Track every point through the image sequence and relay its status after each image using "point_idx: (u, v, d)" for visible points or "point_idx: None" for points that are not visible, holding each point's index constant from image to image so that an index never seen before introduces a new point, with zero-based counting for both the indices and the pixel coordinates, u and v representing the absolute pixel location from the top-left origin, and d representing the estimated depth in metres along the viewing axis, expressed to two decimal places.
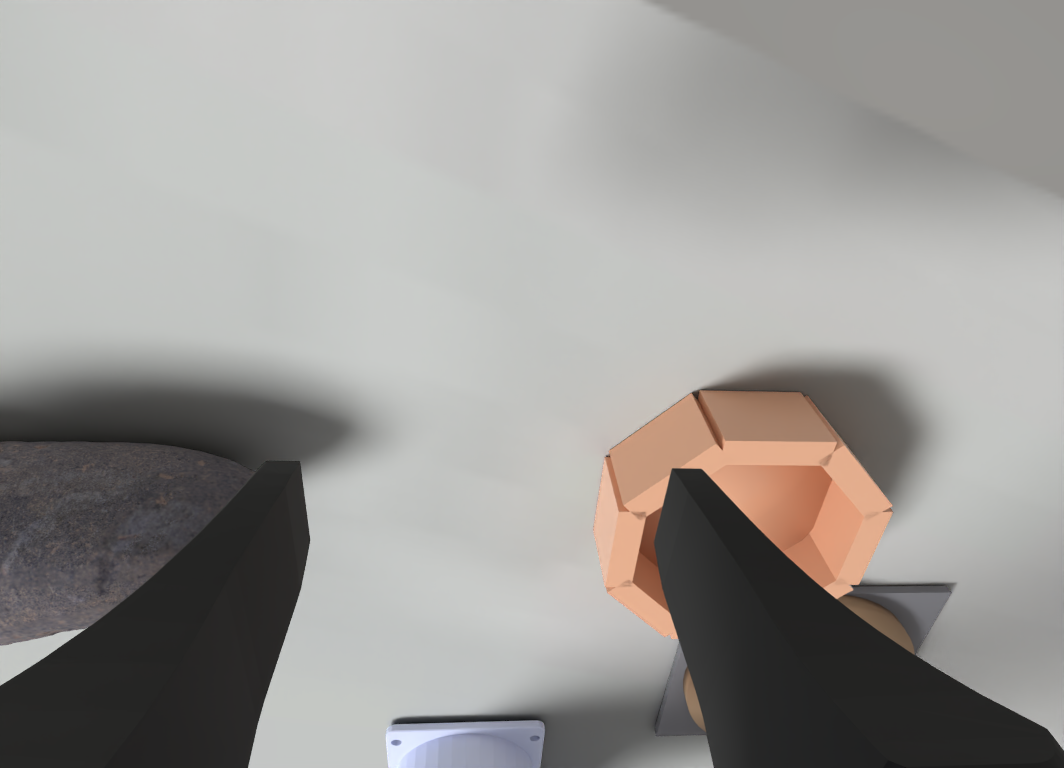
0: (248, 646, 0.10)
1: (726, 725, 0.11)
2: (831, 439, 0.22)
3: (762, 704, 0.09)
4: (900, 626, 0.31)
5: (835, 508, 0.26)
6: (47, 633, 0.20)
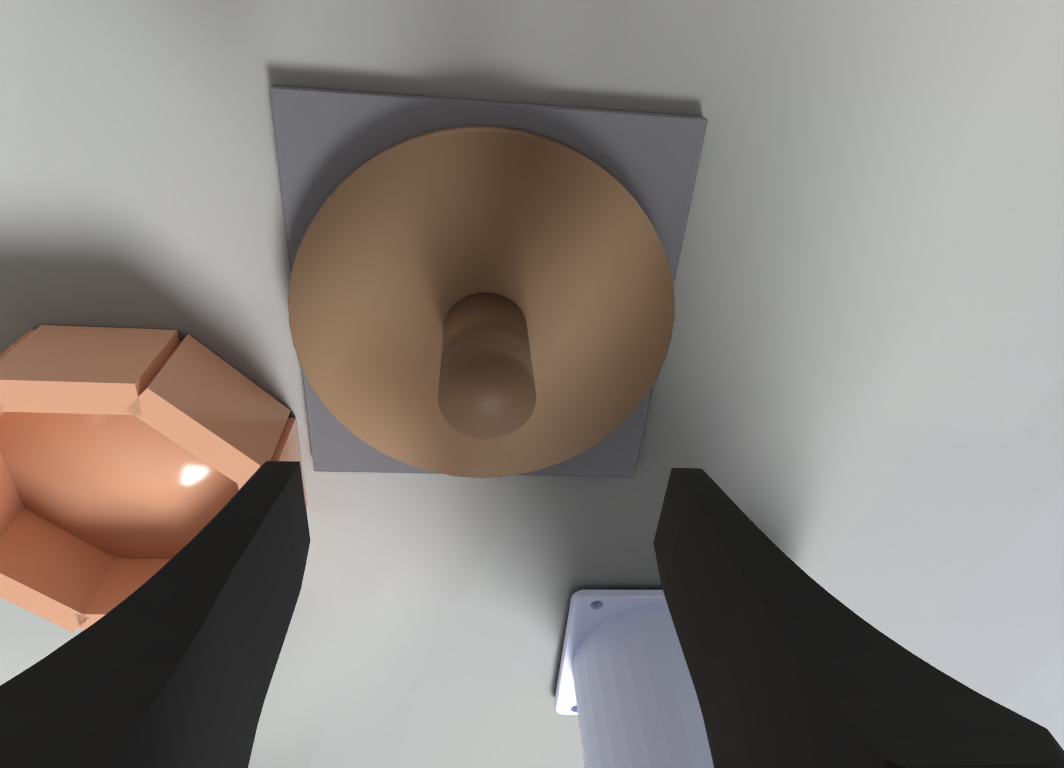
0: (248, 646, 0.10)
1: (726, 724, 0.11)
2: None
3: (762, 704, 0.09)
4: (332, 195, 0.17)
5: None
6: None
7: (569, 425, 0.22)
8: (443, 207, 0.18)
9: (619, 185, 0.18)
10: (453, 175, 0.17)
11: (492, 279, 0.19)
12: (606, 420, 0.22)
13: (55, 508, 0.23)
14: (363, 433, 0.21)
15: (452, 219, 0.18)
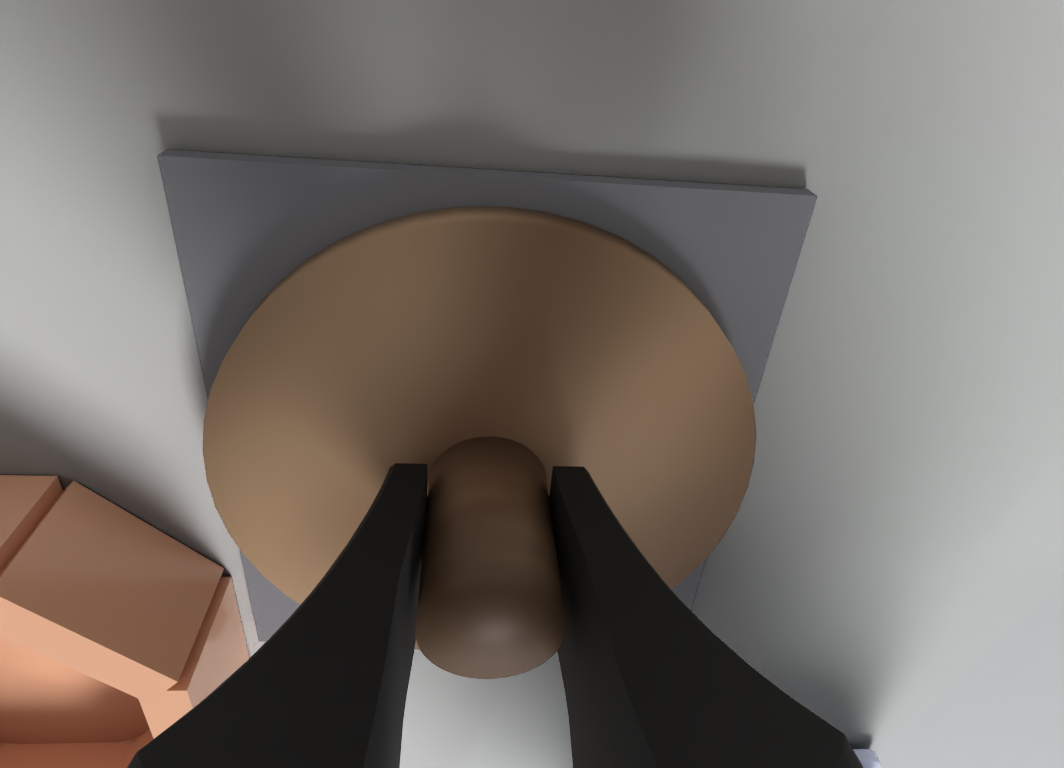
0: (403, 645, 0.11)
1: (580, 728, 0.10)
2: None
3: (597, 707, 0.09)
4: (258, 312, 0.12)
5: None
6: None
7: None
8: (425, 327, 0.12)
9: (687, 294, 0.12)
10: (440, 283, 0.11)
11: (498, 420, 0.13)
12: None
13: None
14: None
15: (439, 342, 0.12)
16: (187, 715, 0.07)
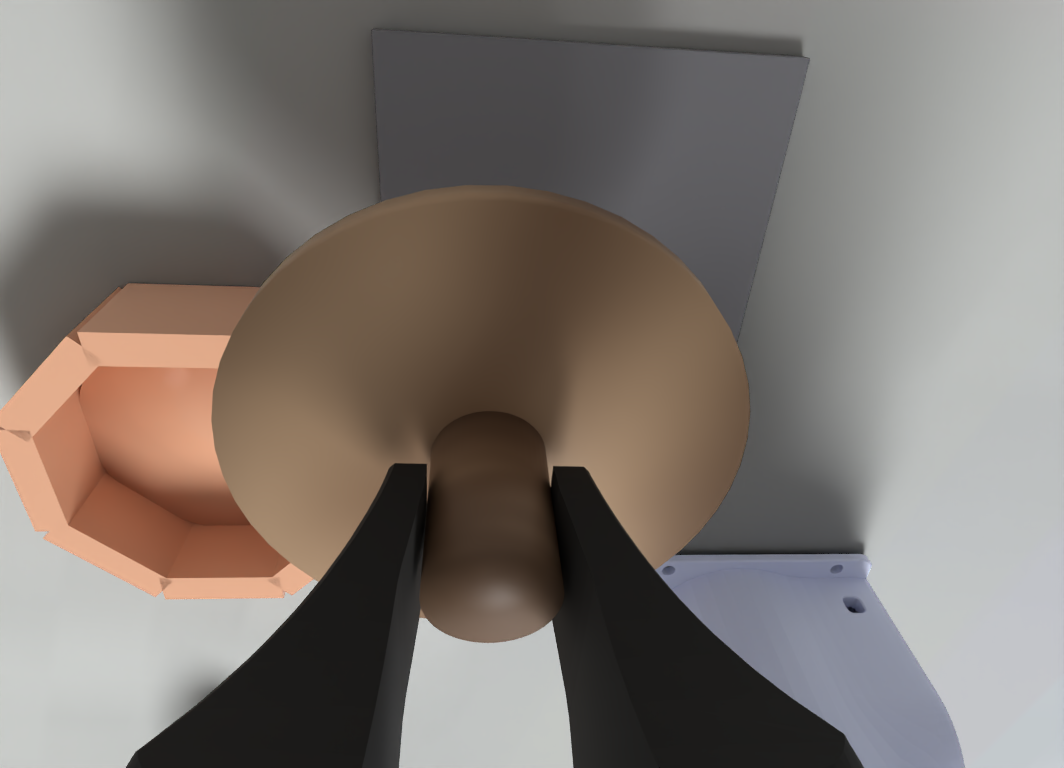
0: (402, 644, 0.11)
1: (580, 728, 0.10)
2: None
3: (598, 707, 0.09)
4: (267, 285, 0.12)
5: None
6: None
7: None
8: (430, 303, 0.12)
9: (686, 275, 0.12)
10: (446, 260, 0.12)
11: (500, 395, 0.13)
12: None
13: (135, 473, 0.23)
14: None
15: (444, 318, 0.12)
16: (186, 715, 0.07)
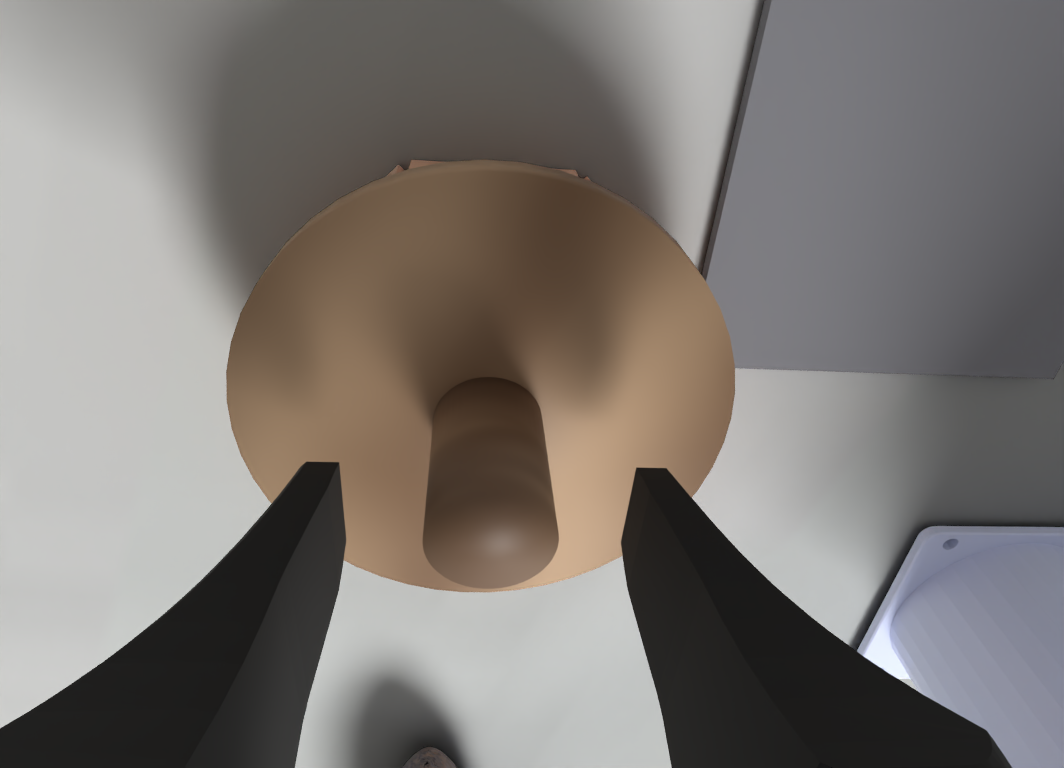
0: (296, 646, 0.10)
1: (683, 726, 0.11)
2: None
3: (713, 705, 0.09)
4: (293, 241, 0.13)
5: None
6: None
7: (582, 538, 0.17)
8: (445, 267, 0.13)
9: (683, 255, 0.13)
10: (462, 227, 0.13)
11: (503, 361, 0.14)
12: None
13: None
14: None
15: (457, 283, 0.13)
16: (18, 718, 0.07)
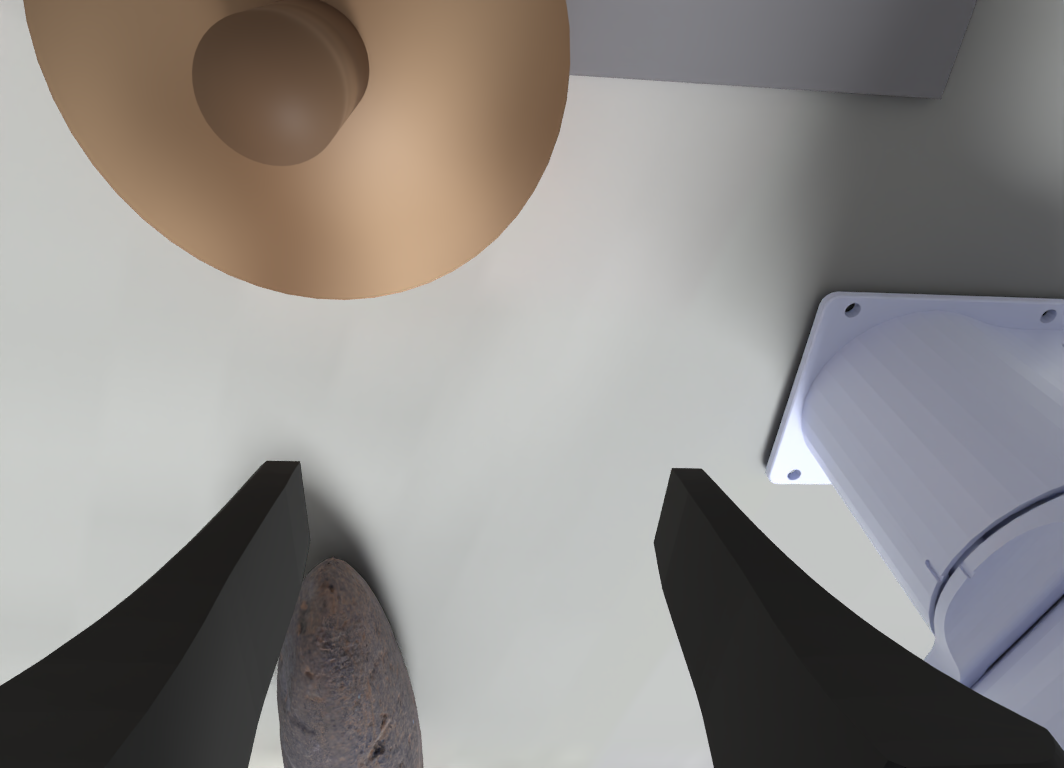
0: (248, 646, 0.10)
1: (727, 725, 0.11)
2: None
3: (762, 704, 0.09)
4: None
5: None
6: (364, 764, 0.25)
7: (434, 227, 0.16)
8: None
9: None
10: None
11: None
12: (483, 224, 0.16)
13: None
14: (153, 216, 0.16)
15: None
16: None
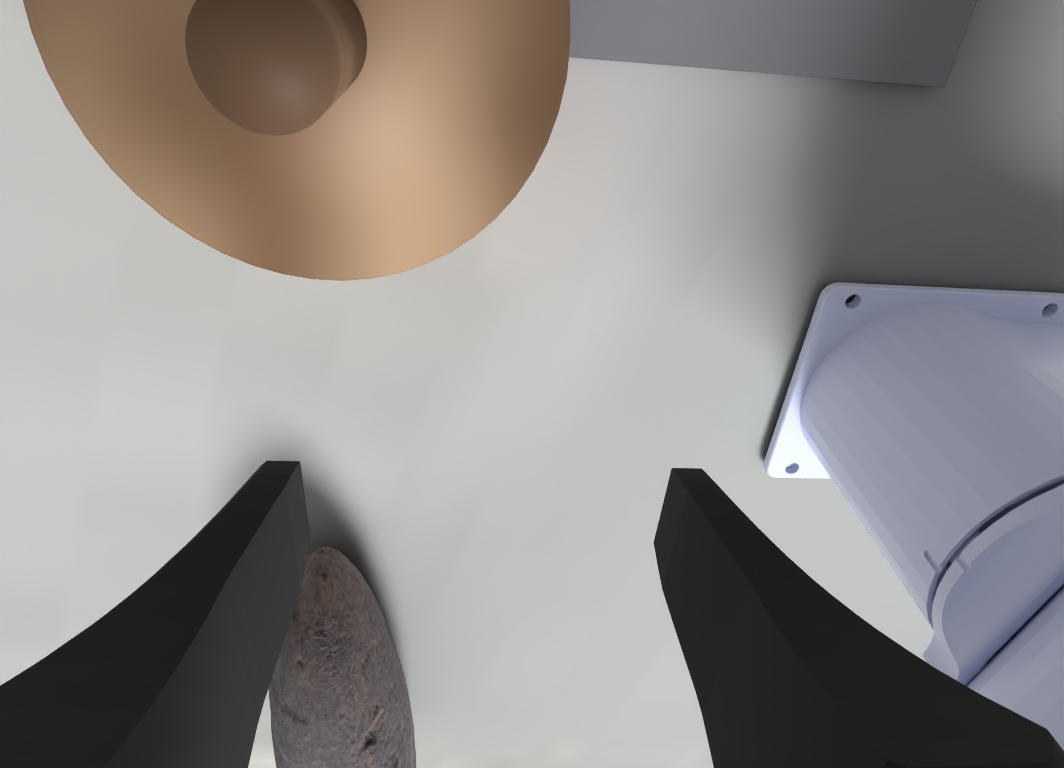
0: (248, 646, 0.10)
1: (727, 724, 0.11)
2: None
3: (762, 704, 0.09)
4: None
5: None
6: (355, 754, 0.24)
7: (431, 208, 0.16)
8: None
9: None
10: None
11: None
12: (481, 204, 0.16)
13: None
14: (147, 192, 0.16)
15: None
16: None
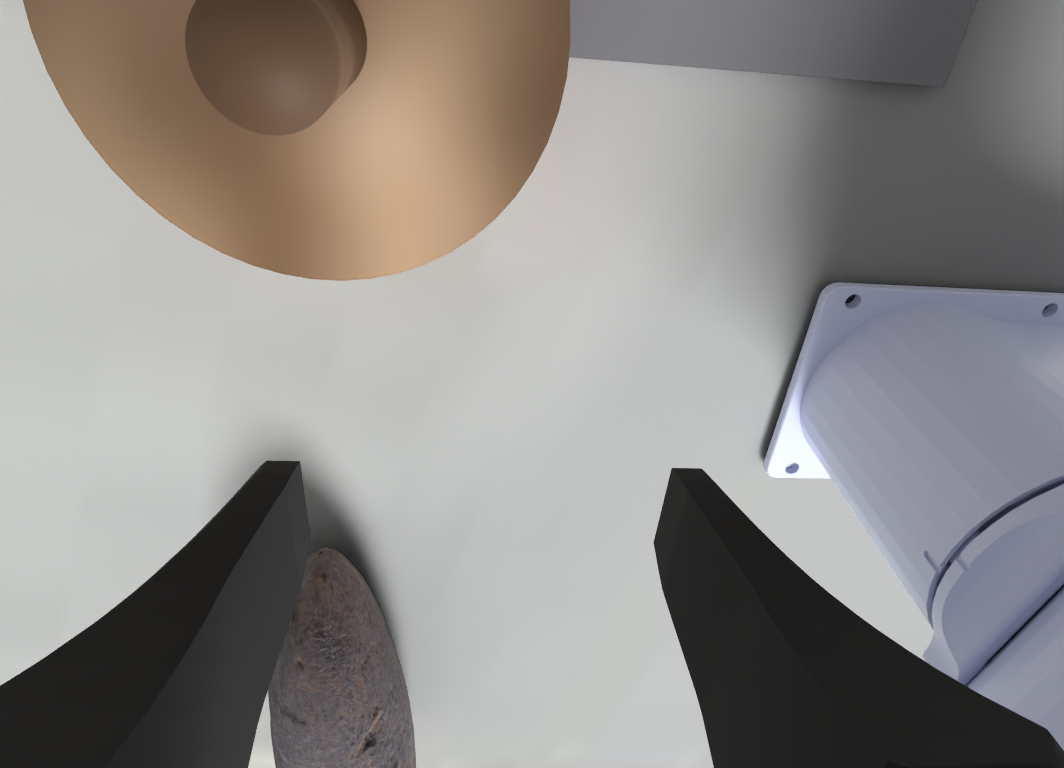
0: (248, 646, 0.10)
1: (727, 724, 0.11)
2: None
3: (762, 704, 0.09)
4: None
5: None
6: (355, 756, 0.24)
7: (431, 208, 0.16)
8: None
9: None
10: None
11: None
12: (481, 204, 0.16)
13: None
14: (147, 192, 0.16)
15: None
16: None
